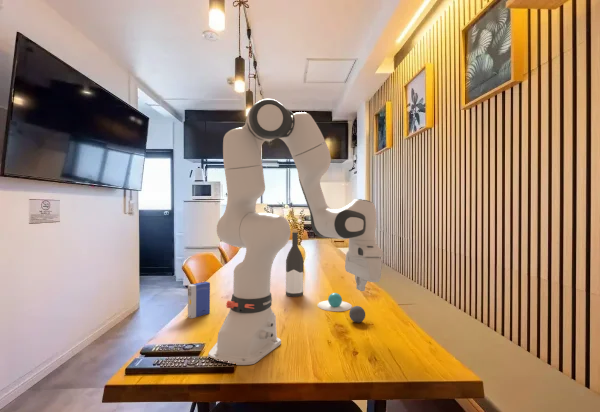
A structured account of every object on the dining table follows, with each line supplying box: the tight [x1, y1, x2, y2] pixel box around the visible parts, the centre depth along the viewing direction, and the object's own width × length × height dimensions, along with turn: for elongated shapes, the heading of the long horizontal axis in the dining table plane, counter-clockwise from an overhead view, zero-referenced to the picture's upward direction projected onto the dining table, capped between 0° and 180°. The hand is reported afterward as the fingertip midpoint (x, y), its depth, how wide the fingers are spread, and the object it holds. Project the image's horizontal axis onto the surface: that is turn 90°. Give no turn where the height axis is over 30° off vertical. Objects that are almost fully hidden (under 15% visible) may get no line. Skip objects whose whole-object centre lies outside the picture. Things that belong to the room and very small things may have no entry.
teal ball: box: [327, 292, 343, 307], centre depth 133 cm, size 6×6×6 cm
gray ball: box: [348, 305, 366, 323], centre depth 116 cm, size 6×6×6 cm
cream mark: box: [317, 299, 353, 312], centre depth 134 cm, size 14×14×1 cm
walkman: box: [187, 280, 211, 319], centre depth 121 cm, size 8×3×12 cm, turn 139°
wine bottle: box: [285, 228, 305, 298], centre depth 150 cm, size 8×8×30 cm
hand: (360, 290), depth 108 cm, fingers closed
